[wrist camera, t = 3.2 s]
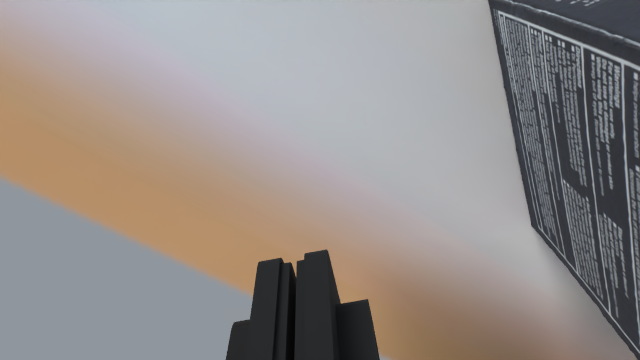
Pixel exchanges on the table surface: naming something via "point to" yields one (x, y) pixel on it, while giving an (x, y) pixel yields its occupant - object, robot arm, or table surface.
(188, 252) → the table surface
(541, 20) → the small box
